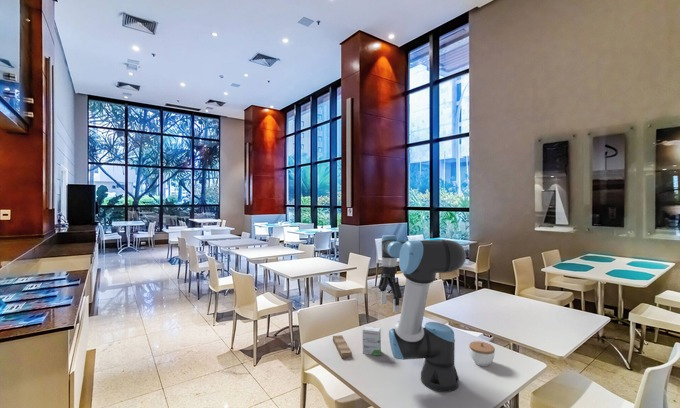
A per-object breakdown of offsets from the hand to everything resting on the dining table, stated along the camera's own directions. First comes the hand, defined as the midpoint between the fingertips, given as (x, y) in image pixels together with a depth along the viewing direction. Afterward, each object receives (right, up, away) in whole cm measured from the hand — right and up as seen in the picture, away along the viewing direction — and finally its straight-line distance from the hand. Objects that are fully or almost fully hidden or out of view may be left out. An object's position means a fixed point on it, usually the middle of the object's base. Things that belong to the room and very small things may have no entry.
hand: (389, 307), depth 162 cm
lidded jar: (+40, -21, -14) cm, 48 cm away
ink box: (-9, -21, -4) cm, 23 cm away
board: (-24, -21, 0) cm, 32 cm away
